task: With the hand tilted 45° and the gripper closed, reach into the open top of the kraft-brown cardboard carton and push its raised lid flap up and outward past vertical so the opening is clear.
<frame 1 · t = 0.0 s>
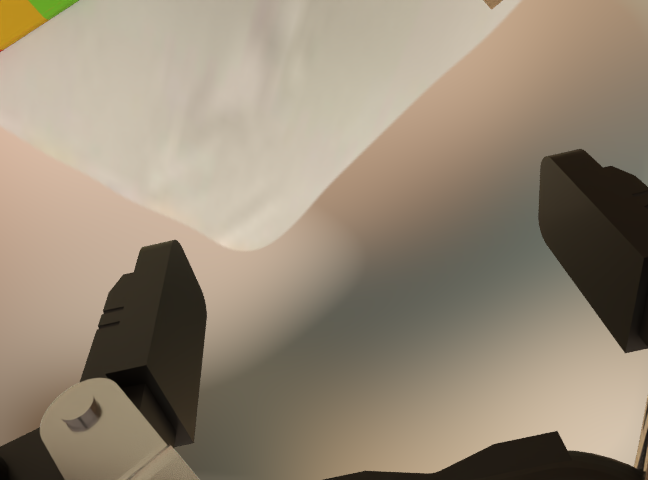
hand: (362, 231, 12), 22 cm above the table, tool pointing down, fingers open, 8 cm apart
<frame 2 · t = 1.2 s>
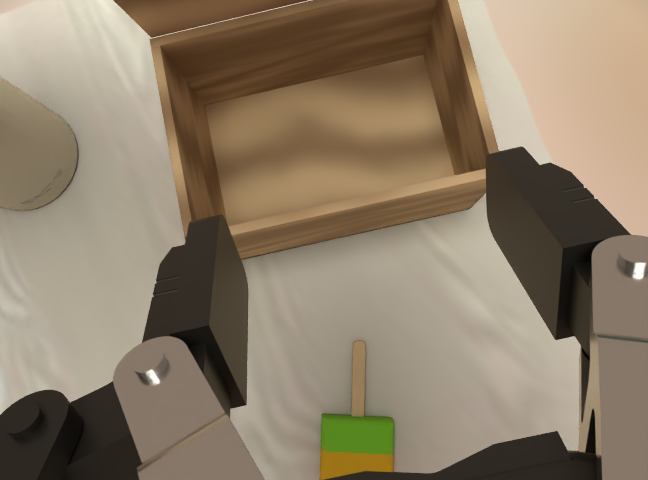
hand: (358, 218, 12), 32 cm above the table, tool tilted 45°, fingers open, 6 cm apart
carton: (329, 154, 45), on the table
popsicle: (357, 437, 43), on the table
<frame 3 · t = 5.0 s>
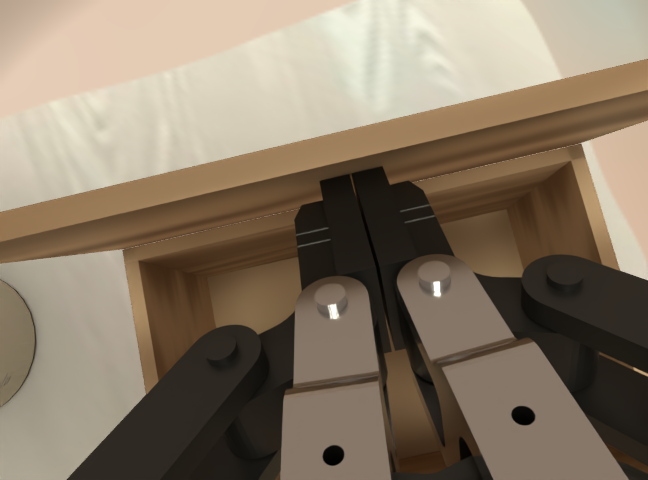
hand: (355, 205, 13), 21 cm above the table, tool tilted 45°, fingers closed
carton: (378, 347, 33), on the table
carton flap: (347, 176, 16), point 18 cm above the table, hinge at 80.0°, touching gripper
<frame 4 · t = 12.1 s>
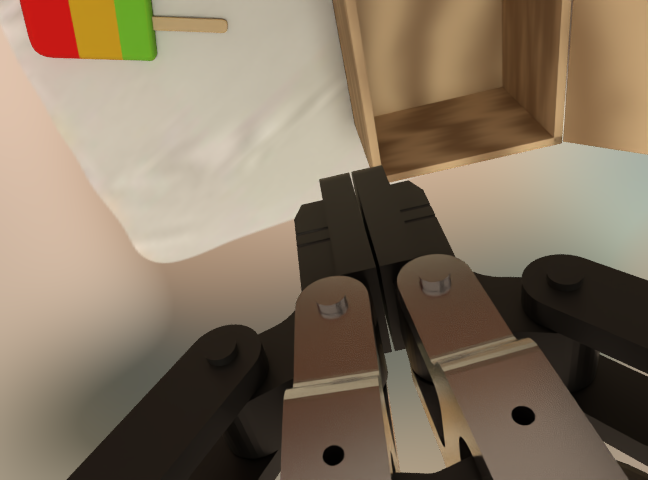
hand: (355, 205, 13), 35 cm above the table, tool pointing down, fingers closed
popsicle: (131, 18, 43), on the table
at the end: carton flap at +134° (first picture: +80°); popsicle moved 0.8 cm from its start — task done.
